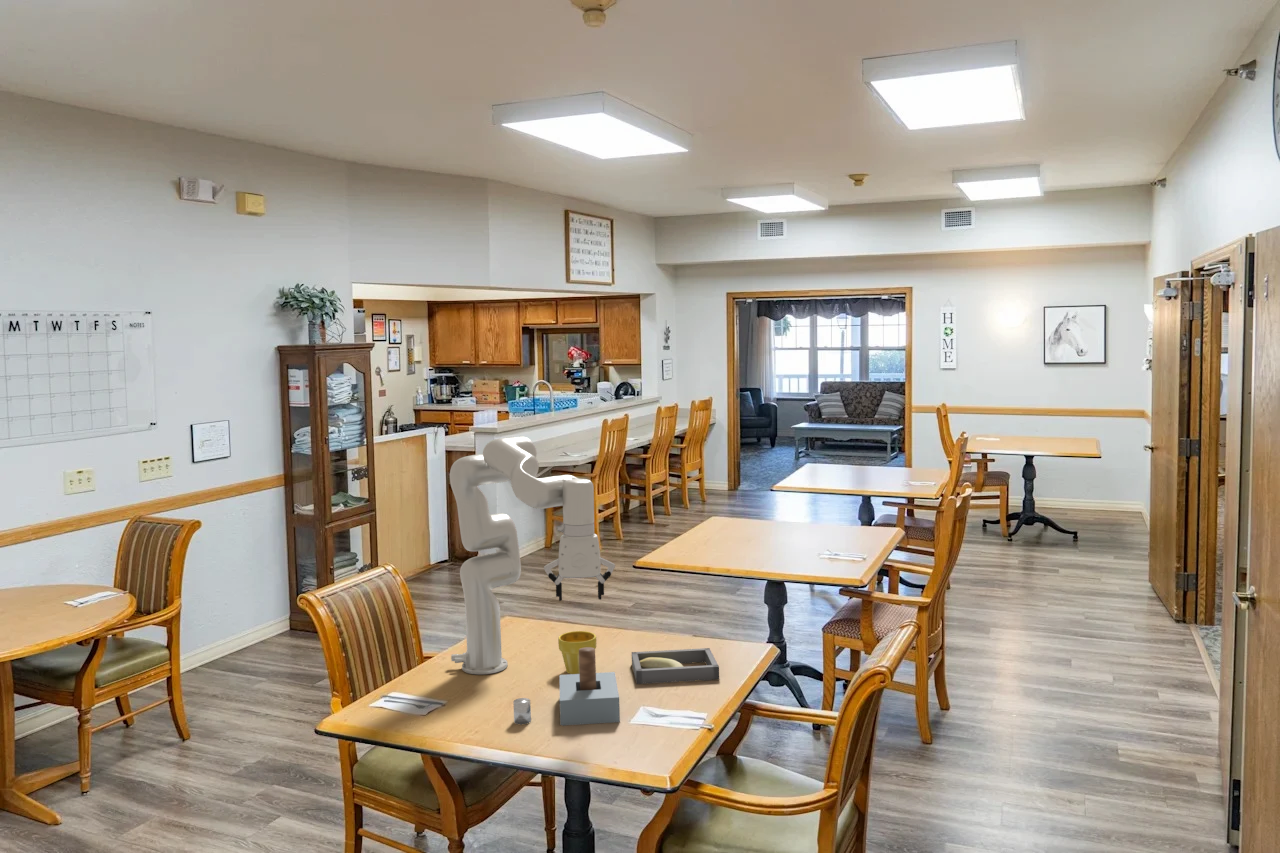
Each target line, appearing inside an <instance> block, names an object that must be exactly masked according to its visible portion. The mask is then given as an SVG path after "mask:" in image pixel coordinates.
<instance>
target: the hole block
mask: <svg viewBox="0 0 1280 853" xmlns="http://www.w3.org/2000/svg"><path fill="white" fill-rule="evenodd" d="M618 688H619V687H618V683H617V676H616V672H615V671H610V672H609V671H607V672H596V690H581V691H580V675H579V674H569V673H567V674H559V713H560V714H559V715H560V716H559V720H560V721H559V722H560V723H559V724H560V726H561V725H562V726H575V725H576V726H577V725H591V724H593V725H594V724H611V723H612V724H613V723H621V716H620V715H621V712H620V711H621V710H620V709H621V708H620V693H619V689H618Z"/></svg>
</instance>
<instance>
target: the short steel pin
mask: <svg viewBox="0 0 1280 853" xmlns="http://www.w3.org/2000/svg"><path fill="white" fill-rule="evenodd" d="M512 702H513V723H514V724H515V725H518V724H520V725H521V726H523V725H522V724H525V725H528V724H530V723H531V722H532V711H531V708H532V707H531V706H532V705H531V699H530V698H527V697H521V698H520V697H519V698H516V699H514V700H513V701H512ZM529 722H530V723H529ZM527 723H528V724H527ZM520 725H519V726H520Z"/></svg>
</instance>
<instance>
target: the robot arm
mask: <svg viewBox="0 0 1280 853" xmlns="http://www.w3.org/2000/svg"><path fill="white" fill-rule="evenodd" d="M539 468H540V467H539V461H538V459H537V448H536V445H535V443H534V442H533V441H532V440H531V439H530V438H529V437H526V436H521V435H520V436H510V437H500V438H495V439H492V440H490V441H489V442H487V443H486V444H485V446H484V448H483V450H482V453H479V454H472V455H467V456H462V457H460V458H458V459H457V460H455V461H454V462H453V464H452V465H451V467H450V471H449V482H450V483H449V484H450V487H451V490H452V493H453V495H454V499H455V501H456V507H457V515H458V516H457V517H458V524H459V530H460V531H459V533H460V538H461V543H462V545H463V548H464V549H465V550H466V551H469V552H481V551H487V550H492V549H495V552H493V553H487V554H482V555H477V556H473V557H471V558H468V559H467V560H465V561H464V562H463V563H462V564H461V567H460V568H459V576H460V577H459V578H460V582H461V585H462V590H463V596H464V598H463V599H464V612H465V630H466V631H465V632H466V633H465V634H466V636H465V637H466V651H465V652H463V653H461V654H458V653H455V654H454V653H453V654H450V655H451V656H450V659H451V662H454V663H455V664H461V663H462V665H461V669H462V671H463V672H465V673H466V674H471V675H491V674H495V673H499V672H501V671H503V670H505V669H507V667H508V660H507V659H505V658H503V656H502V655H503V654H502V653H503V652H502V633H501V632H502V631H501V630H502V628H501V606H500V605H501V604H500V602H499V600H498V598H497V596H496V595H495V594H494V592H493V591H492V590H493V589H495V588H501V587H504V586H509V585H512V584H514V583H516V582H517V581H518V580H519V579H520V577H521V573H522V562H521V555H520V548H519V540H518V539H519V538H518V531H517V527H516V524H515V522H514V520H513V518H511V516H510V515H508V514H506V513H502V512H499V513H498V512H497V513H492V514H491V513H490V509H489V508H490V507H489V501H488V498H487V496H486V495H485V493H484V492H483V491H482V490H481V489H480V488H479V486H485V485H493V484H499V483H500V484H501V483H506V482H509V481H510V484H511V485H510V486H511V489H512V491H513V494H514V495H515V497H516V498H517V499H518V500H519V501H521V502H522V503H523V504H525V505H527V506H528V507H531V508H533V509H538V510H541V509H542V510H543V509H549V508H556V507H562V519H563V520H562V521H563V523H562V524H560V525H557V532H560V533H562V535H561V536H560V537H559V546H558V558H556V559H555V560H552V561H551V562H549V563H547V564H545V565H544V566H543V570H544V571H545V573H546V575H547V577H548V578H549V580H551V581H552V582H553V583H554V585H555V597H556V598H557V597H558V601H559V602H561V601H563V595H562V594H563V588H562V587H563V586H562V585H563V584H562V581H563V580H564V579H581V578H582V579H583V578H596V580H598V581H597V597H598V598H597V599H598V600H602V596H604V595H605V583H606V581H607V580H608V579H609V578H610V577H611V576H612V574H613V572H614V570H615V567H616V564H615V563H613V562H611V561H610V560H607V559H605V558H603V557H601V551H600V550H601V549H600V542H599V537H598V534H596V533H595V499H594V498H595V493H594V491H595V490H594V489H595V488H594V483H593V482H592V481H591V480H590V479H586V478H579V477H576V476H574V475H571V474H562V475H561V474H560V475H553V476H544V477H539V478H537V475H538V473H539ZM601 565H603V566H605V567H607V570H606V571H605V572H604V573H603V574H602V572H601ZM557 566H558V574H557V575H556V574H555V573H554V572H553V571H552V569H553V568H555V567H557Z"/></svg>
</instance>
